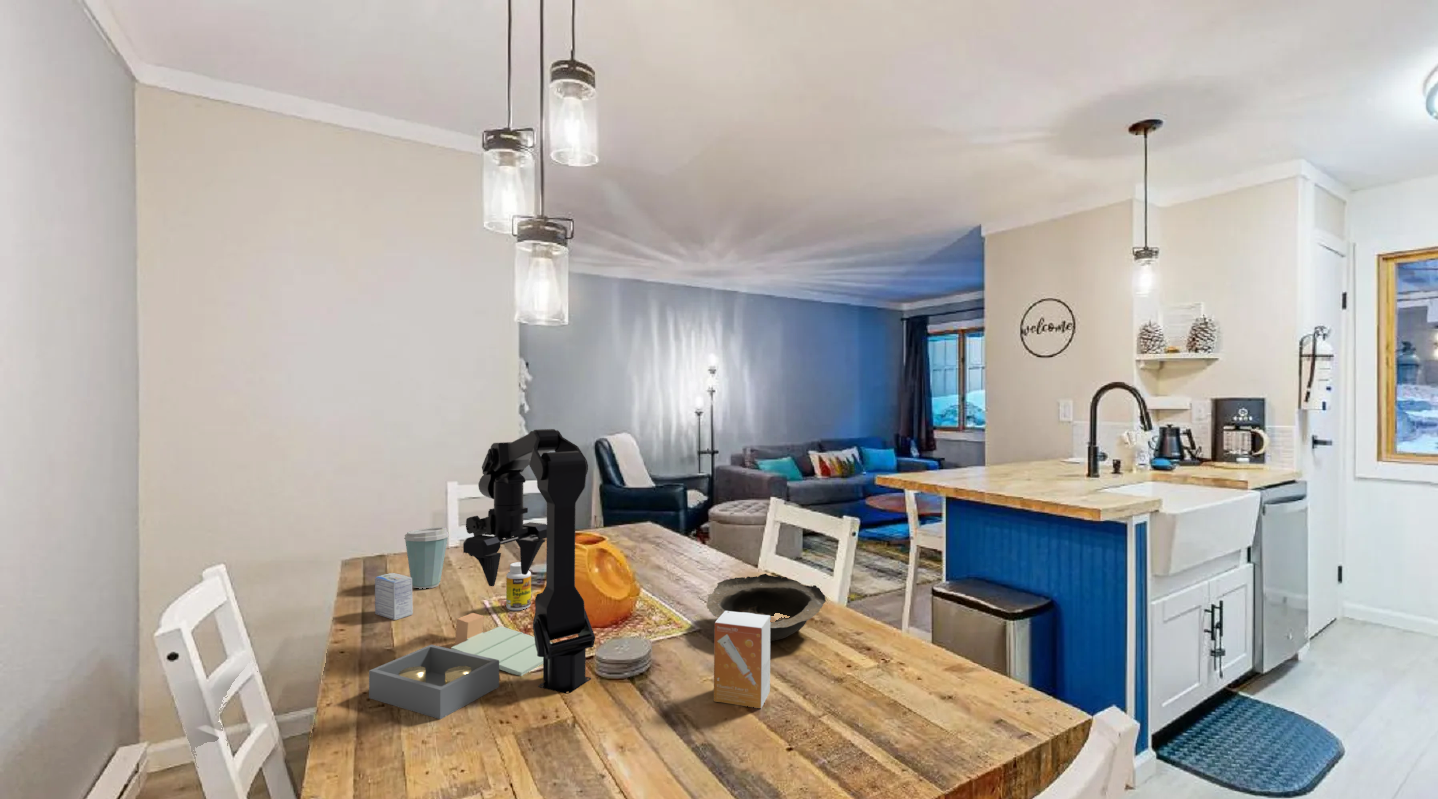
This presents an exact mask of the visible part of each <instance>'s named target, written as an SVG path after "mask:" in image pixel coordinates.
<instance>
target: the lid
mask: <svg viewBox="0 0 1438 799" xmlns="http://www.w3.org/2000/svg"><path fill="white" fill-rule="evenodd" d="M484 622H485V616H484V615H481V614H478V613H476V612H475V613H474V612H471V613H467V614H466V615H464V616H461V617H458V618H456V626H455V640H454V645H453V646H451V647H450V649H453V650H457V651H461V652H466V653H470V654H474V655H479V656H483V657H487V658H492V659H496V660H499V671H503V672H506V673H509V674H510V675H511V674H512V675H516V676H521V677H522V676H524V675H525V674H527V673H530V672H531V671H532V670H535V669H536V668H538V667H540V666H543V657H538V656H537V650H536V646H535V638H534V635H533V636H532V635H530V634H526V633H523V631H517V630H516V629H511V628H508V627H506V626H502V625H499V626H497V627H494V628H492V629H491V630H488V631H485V632H484ZM550 643H553V642H552V641H550Z"/></svg>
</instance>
